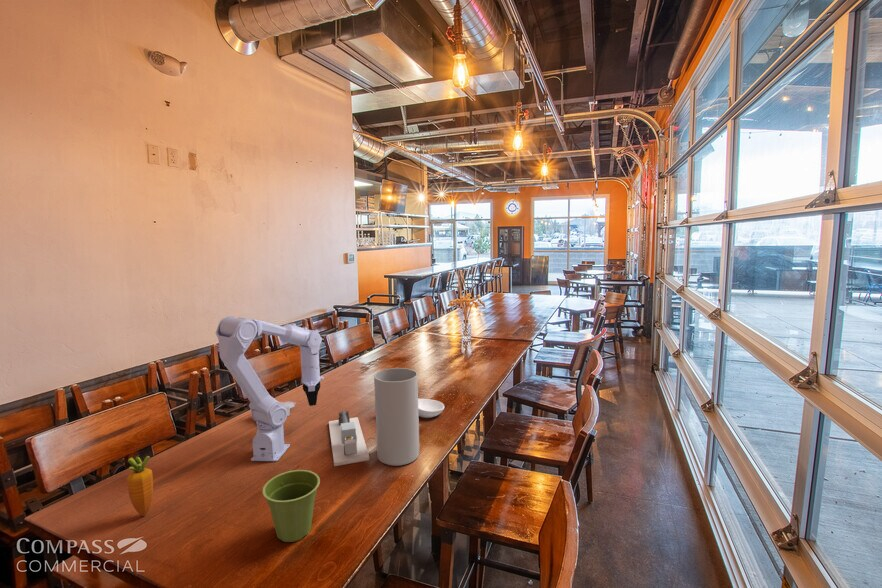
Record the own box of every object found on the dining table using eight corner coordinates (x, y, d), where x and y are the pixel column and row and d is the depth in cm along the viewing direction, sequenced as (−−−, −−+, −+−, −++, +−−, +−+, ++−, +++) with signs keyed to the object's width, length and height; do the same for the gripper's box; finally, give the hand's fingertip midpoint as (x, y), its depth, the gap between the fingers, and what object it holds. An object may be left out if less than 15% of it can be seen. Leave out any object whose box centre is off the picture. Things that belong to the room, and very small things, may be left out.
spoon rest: (442, 407, 160) (442, 389, 159) (446, 420, 148) (446, 401, 147) (380, 411, 157) (379, 393, 156) (379, 425, 145) (378, 405, 144)
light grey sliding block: (356, 441, 126) (356, 428, 125) (342, 443, 125) (341, 430, 124) (355, 434, 131) (354, 421, 130) (340, 436, 129) (340, 423, 129)
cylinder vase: (373, 449, 128) (370, 371, 124) (412, 442, 132) (410, 366, 129) (382, 470, 116) (379, 384, 113) (425, 461, 120) (423, 378, 117)
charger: (303, 410, 158) (268, 426, 146) (287, 406, 163) (252, 420, 151) (302, 398, 158) (267, 413, 145) (286, 394, 163) (251, 407, 150)
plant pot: (274, 560, 84) (270, 508, 83) (260, 528, 94) (256, 481, 92) (330, 535, 91) (327, 487, 90) (312, 507, 101) (309, 463, 99)
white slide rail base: (369, 460, 122) (368, 442, 121) (334, 466, 119) (333, 447, 118) (357, 419, 149) (357, 404, 148) (328, 424, 146) (328, 408, 145)
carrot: (161, 508, 101) (155, 450, 99) (148, 522, 96) (141, 461, 94) (140, 509, 101) (133, 451, 99) (126, 523, 96) (118, 462, 94)
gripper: (323, 370, 132) (326, 411, 134) (322, 358, 146) (324, 395, 147) (300, 373, 130) (303, 414, 132) (300, 360, 143) (303, 398, 145)
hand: (312, 404), depth 139 cm, fingers closed
